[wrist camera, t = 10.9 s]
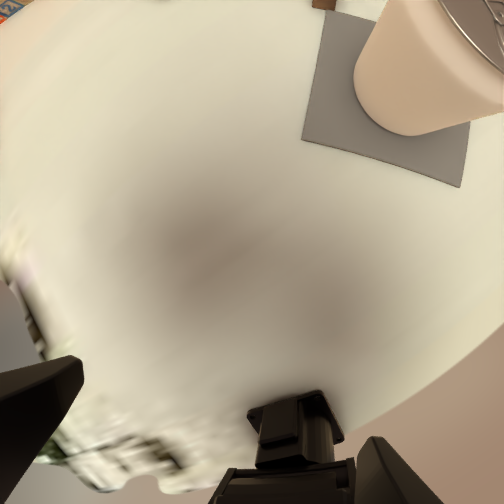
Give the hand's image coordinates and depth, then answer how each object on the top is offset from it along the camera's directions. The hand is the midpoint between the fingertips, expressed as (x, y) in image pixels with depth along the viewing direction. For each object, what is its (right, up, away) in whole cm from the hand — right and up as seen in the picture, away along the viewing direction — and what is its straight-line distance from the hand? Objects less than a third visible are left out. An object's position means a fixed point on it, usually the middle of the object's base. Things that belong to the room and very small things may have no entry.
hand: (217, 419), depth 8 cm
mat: (+10, +15, +9) cm, 20 cm away
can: (+10, +15, +8) cm, 20 cm away
